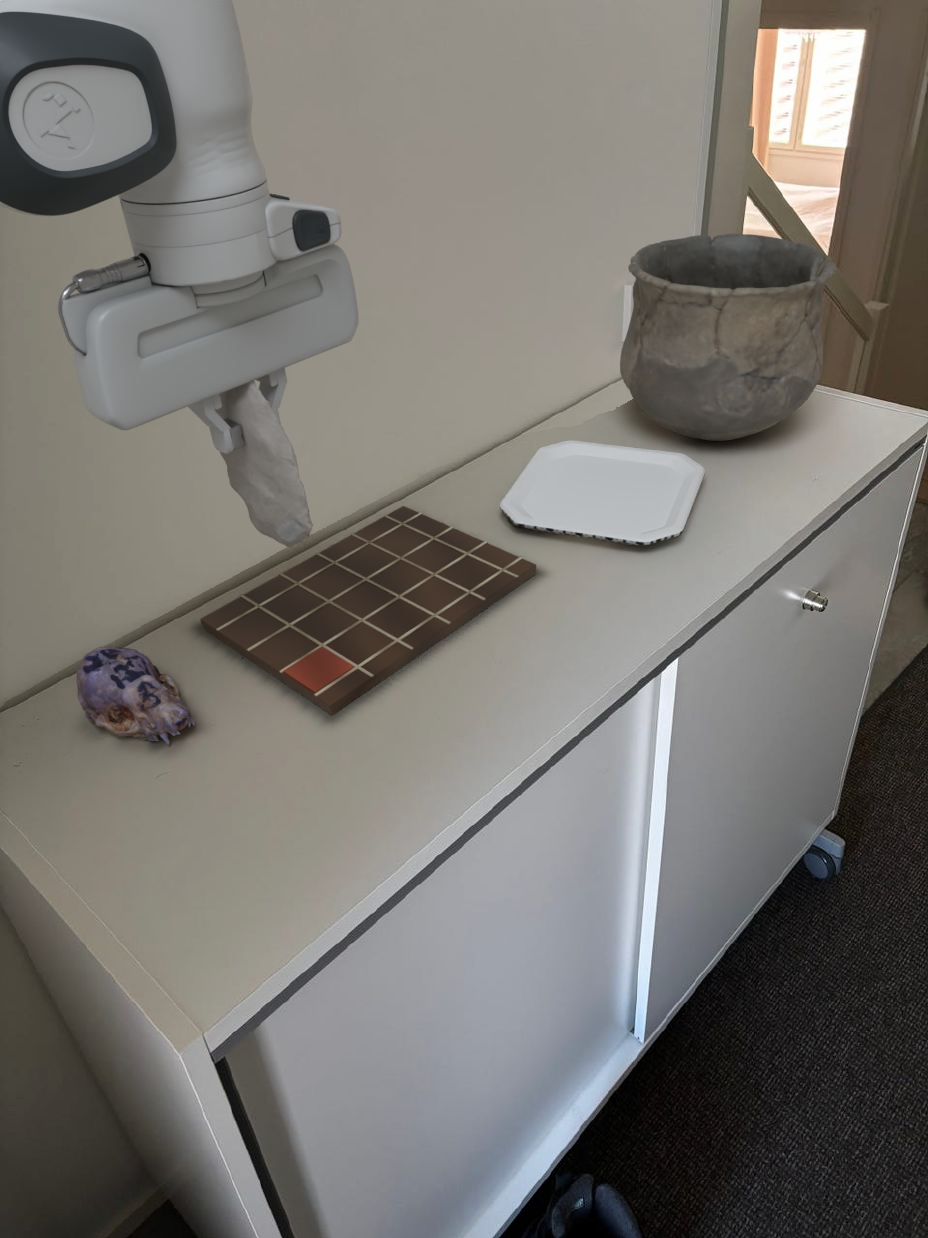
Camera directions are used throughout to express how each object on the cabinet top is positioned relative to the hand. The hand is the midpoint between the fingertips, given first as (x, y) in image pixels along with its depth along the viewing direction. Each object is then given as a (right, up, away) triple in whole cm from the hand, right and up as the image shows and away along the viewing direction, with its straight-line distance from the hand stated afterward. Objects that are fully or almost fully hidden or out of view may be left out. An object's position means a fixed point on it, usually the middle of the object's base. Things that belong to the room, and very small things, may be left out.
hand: (249, 439), depth 66 cm
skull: (-13, -22, +16) cm, 30 cm away
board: (+6, -11, +28) cm, 31 cm away
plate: (+32, +1, +42) cm, 52 cm away
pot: (+48, +13, +56) cm, 75 cm away
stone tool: (+2, -7, +7) cm, 9 cm away
